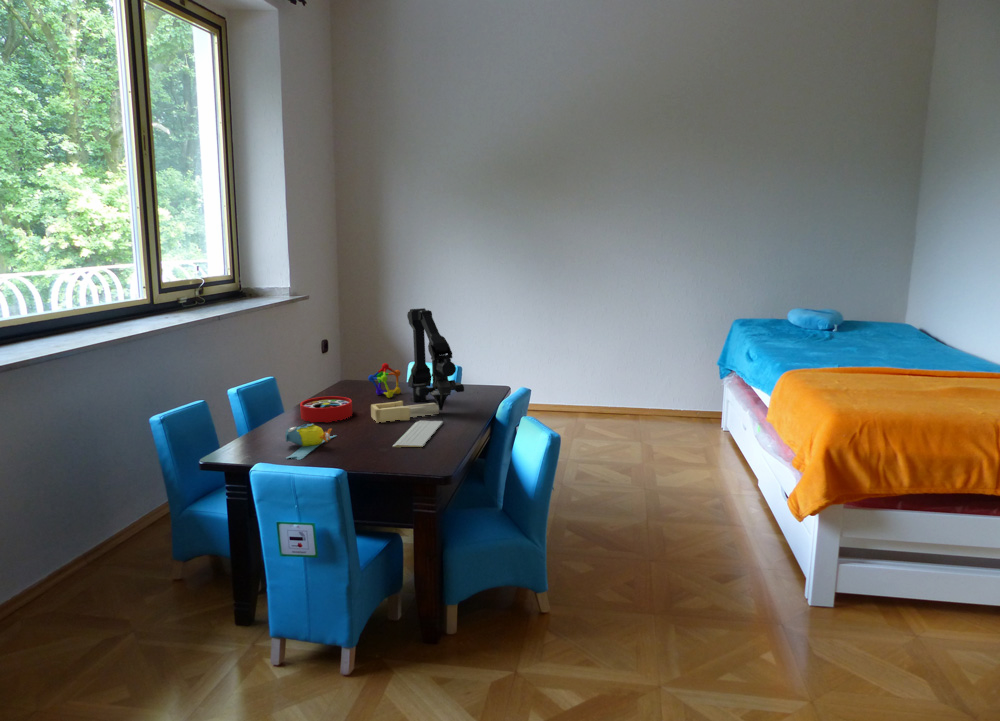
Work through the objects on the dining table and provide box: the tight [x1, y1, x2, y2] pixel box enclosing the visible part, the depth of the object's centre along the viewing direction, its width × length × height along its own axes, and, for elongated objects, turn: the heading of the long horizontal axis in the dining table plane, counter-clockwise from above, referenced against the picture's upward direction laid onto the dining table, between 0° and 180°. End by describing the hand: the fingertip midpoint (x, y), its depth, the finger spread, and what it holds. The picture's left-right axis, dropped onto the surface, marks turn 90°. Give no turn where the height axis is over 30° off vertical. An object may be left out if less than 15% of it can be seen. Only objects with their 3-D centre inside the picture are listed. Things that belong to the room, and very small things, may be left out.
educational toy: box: [367, 362, 402, 399], centre depth 315 cm, size 16×13×15 cm
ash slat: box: [381, 402, 440, 418], centre depth 281 cm, size 5×22×4 cm, turn 112°
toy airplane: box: [284, 422, 337, 461], centre depth 243 cm, size 28×9×15 cm
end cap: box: [370, 400, 411, 424], centre depth 278 cm, size 13×13×5 cm
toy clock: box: [299, 395, 353, 423], centre depth 283 cm, size 20×6×20 cm
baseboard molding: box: [392, 416, 444, 448], centre depth 256 cm, size 31×3×12 cm
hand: (440, 410), depth 286 cm, fingers closed
